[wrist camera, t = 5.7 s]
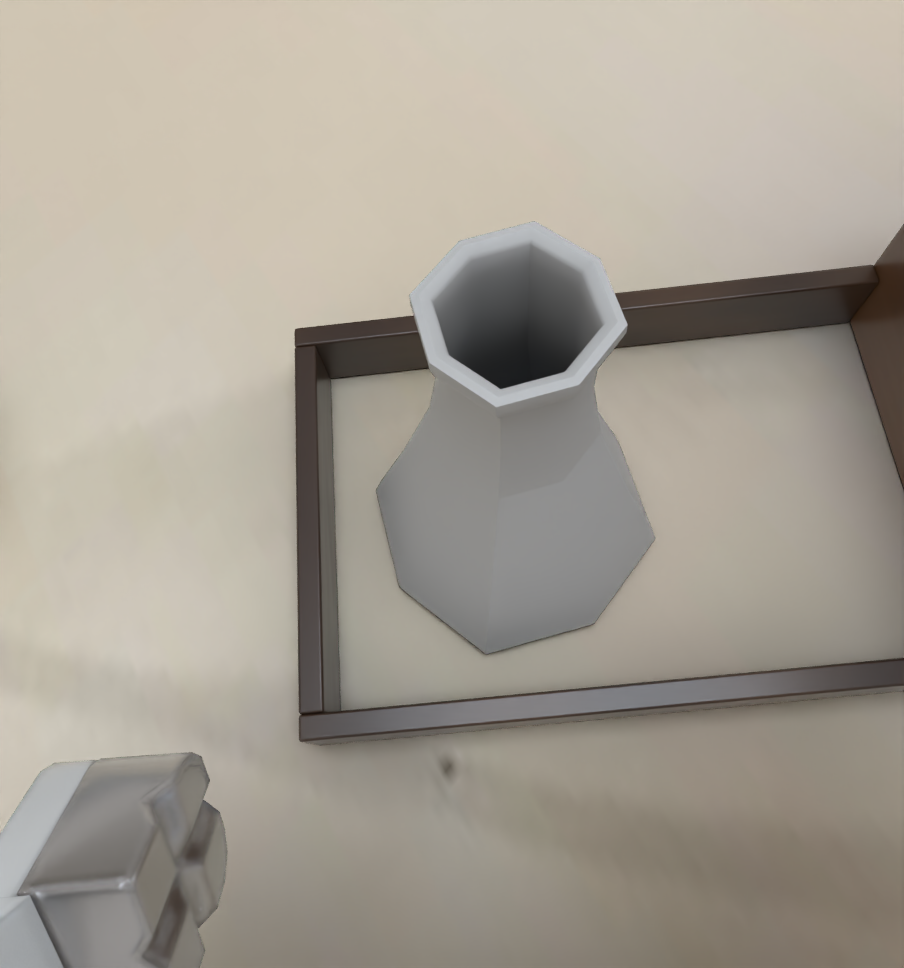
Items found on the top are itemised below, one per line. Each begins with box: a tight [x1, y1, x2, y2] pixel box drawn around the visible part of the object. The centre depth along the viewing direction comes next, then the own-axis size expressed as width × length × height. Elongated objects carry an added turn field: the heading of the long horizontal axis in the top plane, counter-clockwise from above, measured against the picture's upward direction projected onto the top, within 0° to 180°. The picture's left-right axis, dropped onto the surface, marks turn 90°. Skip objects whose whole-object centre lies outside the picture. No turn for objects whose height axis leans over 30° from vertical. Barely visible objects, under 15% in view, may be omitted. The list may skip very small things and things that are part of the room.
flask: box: [376, 221, 655, 654], centre depth 16 cm, size 7×7×10 cm
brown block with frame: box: [295, 224, 904, 745], centre depth 17 cm, size 26×11×9 cm, turn 95°
